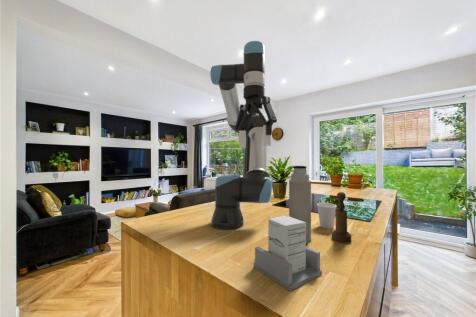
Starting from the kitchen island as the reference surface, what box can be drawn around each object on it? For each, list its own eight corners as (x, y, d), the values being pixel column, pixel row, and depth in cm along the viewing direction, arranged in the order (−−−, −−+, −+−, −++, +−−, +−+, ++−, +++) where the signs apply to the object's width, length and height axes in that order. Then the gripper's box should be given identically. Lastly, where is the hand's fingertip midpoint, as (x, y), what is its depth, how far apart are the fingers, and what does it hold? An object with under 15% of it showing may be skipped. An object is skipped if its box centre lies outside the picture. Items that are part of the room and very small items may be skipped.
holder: (253, 266, 56) (253, 246, 56) (284, 255, 63) (284, 237, 63) (290, 291, 46) (290, 266, 46) (321, 274, 53) (321, 252, 53)
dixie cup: (316, 222, 97) (316, 202, 98) (335, 224, 94) (335, 203, 95) (317, 228, 89) (317, 205, 90) (337, 230, 87) (337, 207, 87)
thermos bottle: (309, 236, 79) (309, 165, 80) (312, 244, 72) (312, 166, 72) (288, 234, 81) (288, 165, 82) (289, 242, 73) (289, 165, 74)
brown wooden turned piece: (329, 239, 76) (329, 192, 77) (334, 235, 81) (334, 190, 81) (348, 244, 72) (348, 194, 72) (353, 239, 77) (353, 192, 77)
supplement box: (267, 263, 56) (267, 218, 56) (287, 257, 59) (287, 214, 60) (285, 277, 49) (285, 225, 50) (306, 269, 53) (306, 221, 53)
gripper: (226, 94, 80) (226, 148, 80) (271, 72, 60) (270, 143, 59) (241, 98, 84) (241, 148, 84) (288, 78, 64) (288, 144, 63)
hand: (253, 146), depth 72 cm, fingers open, 13 cm apart
